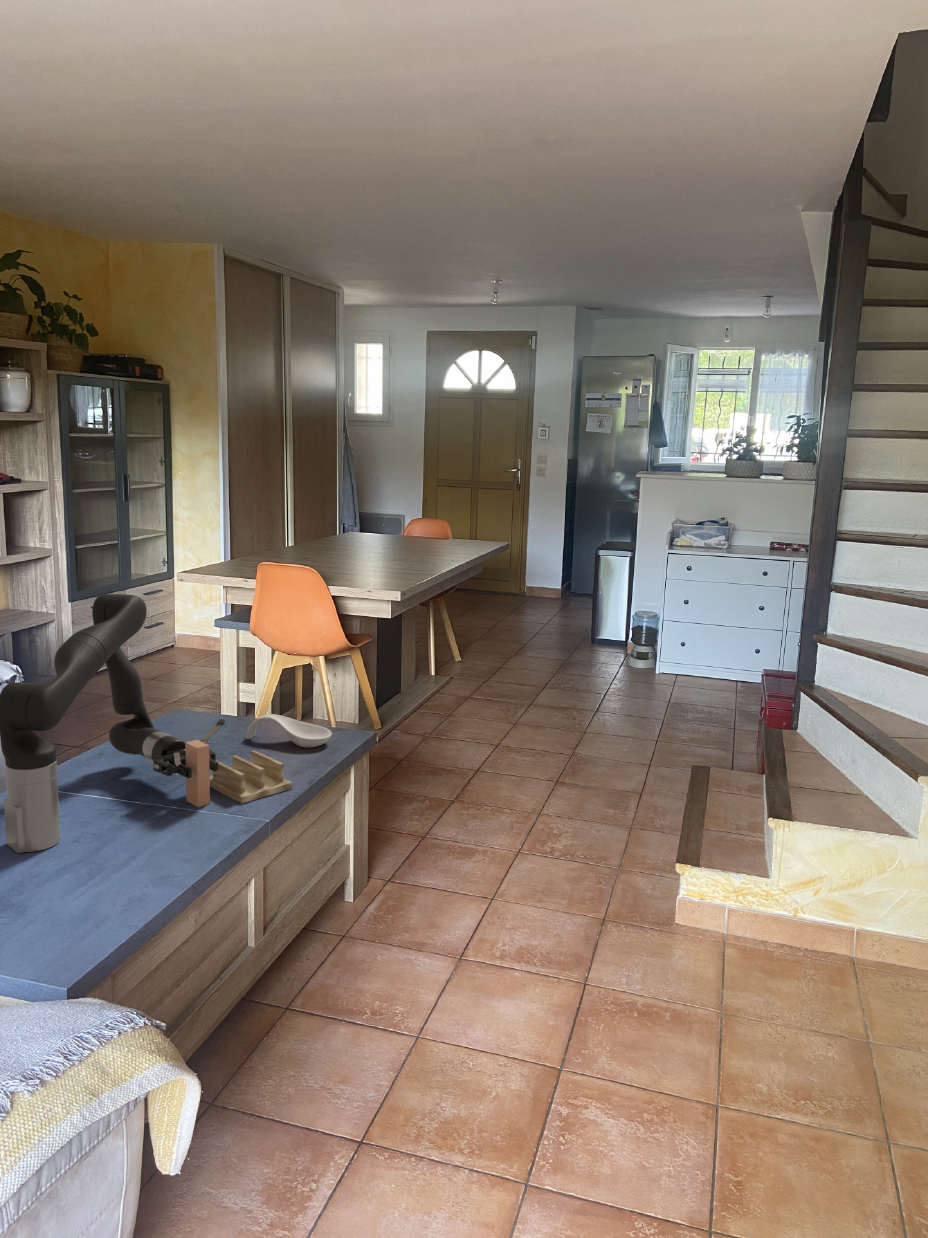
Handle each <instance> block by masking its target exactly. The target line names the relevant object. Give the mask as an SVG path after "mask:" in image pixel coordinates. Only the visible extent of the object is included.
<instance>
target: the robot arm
mask: <svg viewBox="0 0 928 1238" xmlns="http://www.w3.org/2000/svg"><path fill="white" fill-rule="evenodd" d="M91 610H92V613H91V615H92V621H93V625H90V626H88V627H85V628H82V629H80V630H78V631H76V632H75V633H73V634H72V635H71V636H70V637H68V638H67V640H66V641H64V643H62V645H60V647H58V650H56V653H55V654H54V655H55V656H54V661H53V664H54V670H55V674H56V677H55V678H54V679H53V680H51V681H50V682H48V683H33V682H31V683H30V682H10V683H7V684H6V685H4V687H2V689H1V691H0V748H1V752H2V754H3V755H2V756H4V762H5V763H4V764H5V779H6V780H5V781H6V797H7V798H5V799H3V810H4V811H3V812H4V815H3V816H4V829H5V831H4V832H5V843H6V845H7V846H8V847H9V848H11V849H12V850H13V851H14V852H15V853H16V854H21V853H25V852H26V853H31V852H40V851H43V850H47V849H50V848H52V847H54V846H56V845H57V844H58V843H59V842H60V841H61V827H60V803H59V786H58V785H59V784H58V783H59V782H58V781H59V780H58V764H57V763H58V760H57V748H56V747H55V746H56V745H54V744H53V743H52V742H50V741H48V740H46V739H43V738H42V737H40V736H39V735H37V734H36V733H35V732H45V731H49V730H51V729H53V728H55V727H56V726H57V725H58V724H59V723H60V721H61V720H62V719H63V717H64V716H65V714H66V713H67V711H69V709H70V706H72V704H73V702H74V701H75V699H76V698H77V696H78V695H79V693H80V692H81V691H83V689H84V687H86V685H87V684H88V682H89V681H90V680H91V679H92V678H93V677H94V676H95V675H96V674H97V673H99V670H101V668H102V667H104V665H105V666H106V669H107V673H108V678H109V682H110V684H109V685H110V692H111V699H112V706H113V710H114V712H115V713H116V714H118V715H122V716H126V715H127V716H128V715H133V718H130V719H127V720H123V721H120V722H117V723H116V724H114V725H113V726H112V727H111V728H110V730H109V732H108V739H109V742H110V744H111V745H112V747H113V748H114V749H116V750H117V751H119V752H121V753H124V754H129V755H136V756H137V755H139V756H141V757H142V756H143V757H144V758H146V759H148V761H150V763H152V765H153V769H152V770H153V771H154V772H156V773H159V774H162V775H163V776H164V775H165V776H167V777H172V776H173V774H175V775H176V776H179V775H180V776H182V777H183V778H185V779H186V778H191V777H192V771H191V768H189V767H187V766H186V746H185V741H183V740H182V739H179V738H178V737H175V736H174V735H172V734H169V733H167V732H162V731H160V730H158V729H156V728H155V726H154V724H153V722H152V720H151V718H150V716H149V714H148V711H147V708H146V705H145V703H144V696H143V687H142V681H141V678H140V675H139V673H138V671H137V669H136V667H135V666H134V665H133V664H132V662H131V661H130V659H129V658H128V657H127V655H126V654H125V653H124V651H123V650H122V648H121V647H122V646H123V644H125V643H126V642H127V641H129V640H130V639H131V638H133V636H135V635H136V634H138V632H139V631H141V629H142V627H143V626H144V624H145V621H146V618H147V614H148V613H147V612H148V611H147V610H148V609H147V606H146V602H145V601H144V600H143V598H141V597H140V596H137V595H136V594H135V595H134V594H119V593H117V594H115V593H102V594H100V595H98V596H97V597H96V598H95V599H94V601H93V604H92V609H91ZM34 731H35V732H34ZM216 755H217V754H216V752H214V751H213V750H212V749H210V748H209V771H212V772H213V771H217V770H218V762H217V761H218V760H217V758H216ZM216 760H217V761H216Z"/></svg>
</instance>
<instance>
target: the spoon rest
mask: <svg viewBox="0 0 928 1238" xmlns="http://www.w3.org/2000/svg"><path fill="white" fill-rule="evenodd" d="M265 721H266V722H267V721H272V722H274V723H276V724H277V725H278V726H279V727H280V728H281V730H283V732H284V733H285V735H286V736H287V737H288V738H289V739H290V740H291V742H292V743H294V744H295V745H296V746H298V747H299V748H315V747H320V746H322V745H323V744H325V743H327V742H328V741H329V740H330V738H331V737H332V731H331V730H330V729H328V728H326V727H324V726H321V725H316V724H314V723H309V722H305V721H301V720H297V719H294V718H291V717H288V716H284V715H282V714H281V715H279V714H273V713H268V714H263V715H261V716H259V717H257V718H256V719H255V720H253V721H252V722H251V723H250V724H249V726H248V728H247V730H246V735H245V739H246V740H251V739H252V738H254V737H255V736H256V733H257V727H258V724H260V723H262V722H265Z"/></svg>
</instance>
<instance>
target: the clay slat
mask: <svg viewBox="0 0 928 1238" xmlns="http://www.w3.org/2000/svg"><path fill="white" fill-rule="evenodd" d="M184 742H185V741H184ZM185 746H186V766H187V767H189V768H191V771H192V777H191V778H186V777H185V786H186V788H185V790H186V792H185V793H186V794H185V796H186V802H188V803H190V804H192V805H193V806H195V807H196V808H201V807H204V806H208V805H210V804H211V801H210V800H211V795H210V793H211V792H210V790H211V787H210V776H211V775H210V774H211V773H210V769H209V749H210V744H208V743H207V744H205V743H203V742H201V741H200V740H199V739H195V740H189V741H186V742H185Z"/></svg>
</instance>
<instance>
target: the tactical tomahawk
mask: <svg viewBox="0 0 928 1238" xmlns="http://www.w3.org/2000/svg"><path fill="white" fill-rule="evenodd" d="M225 723H226V720H225V719H222V718H221V719H219V720H217V722H216V724H215V725H214V726H213V727H212V728H211V729H210V730H209V731H208V732H207V733H206V734H205V735H204V736H203V737H202V738H201V739H200V740H199V741H201V742H205V740H206V743H208V739H210V738H211V737H212V736H213V735H214V734H213V733H214V732H215V731H216V730H217V731H218V730H219V729H221V727H222V726H223V724H225ZM217 731H216V732H217ZM216 732H215V733H216ZM212 734H213V735H212ZM211 735H212V736H211ZM210 736H211V737H210ZM206 743H205V744H206Z"/></svg>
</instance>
